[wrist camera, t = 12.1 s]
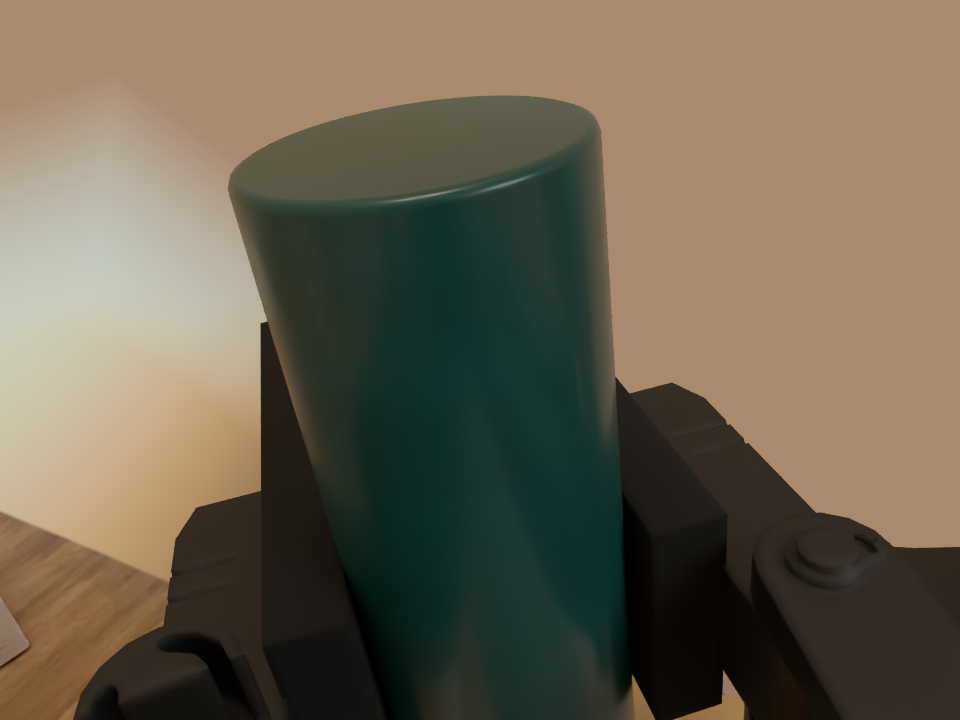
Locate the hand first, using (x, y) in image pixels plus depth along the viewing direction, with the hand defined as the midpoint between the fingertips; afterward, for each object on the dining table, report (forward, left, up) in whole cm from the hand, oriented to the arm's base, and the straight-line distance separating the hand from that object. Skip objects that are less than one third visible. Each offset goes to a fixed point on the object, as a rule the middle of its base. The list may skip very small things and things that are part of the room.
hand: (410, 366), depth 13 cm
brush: (0, +5, -8) cm, 10 cm away
